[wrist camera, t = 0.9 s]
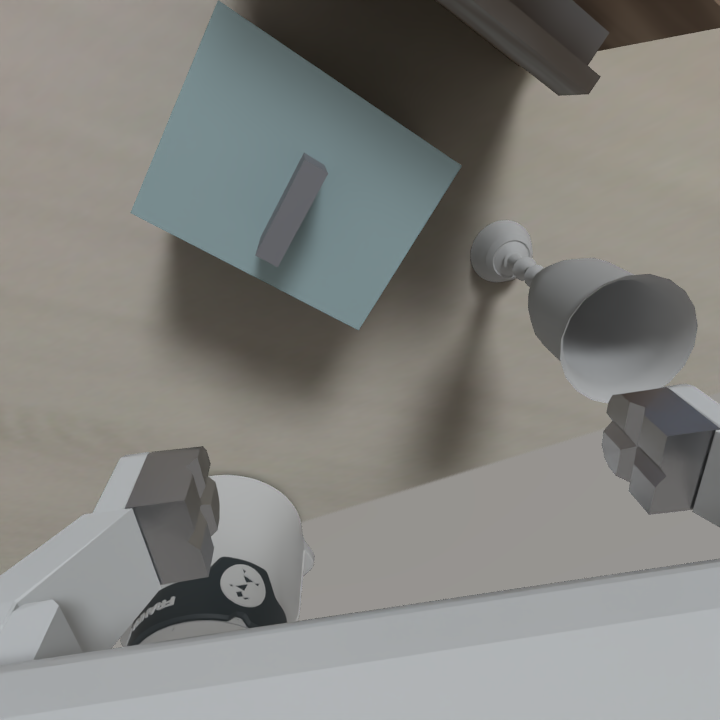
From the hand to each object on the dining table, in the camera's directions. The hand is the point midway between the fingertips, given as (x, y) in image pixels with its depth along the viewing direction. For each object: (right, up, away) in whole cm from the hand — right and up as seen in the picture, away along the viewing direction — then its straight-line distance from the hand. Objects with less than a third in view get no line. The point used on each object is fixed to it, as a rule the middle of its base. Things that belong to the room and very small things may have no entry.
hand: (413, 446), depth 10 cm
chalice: (+10, +10, +31) cm, 35 cm away
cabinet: (-5, +16, +27) cm, 32 cm away
